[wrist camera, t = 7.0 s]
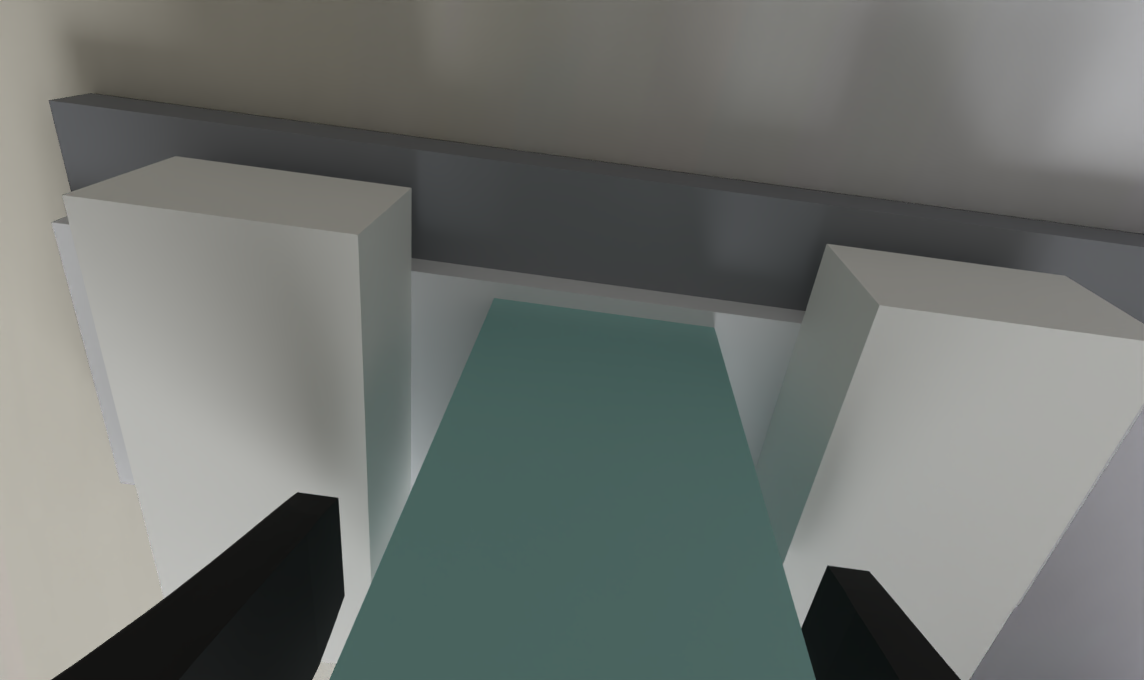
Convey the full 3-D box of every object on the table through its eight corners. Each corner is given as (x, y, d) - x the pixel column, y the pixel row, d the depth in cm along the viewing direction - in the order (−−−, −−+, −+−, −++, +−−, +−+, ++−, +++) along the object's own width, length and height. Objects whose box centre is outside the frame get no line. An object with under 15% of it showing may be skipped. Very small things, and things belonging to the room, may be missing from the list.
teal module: (714, 327, 12) (857, 827, 5) (655, 566, 14) (689, 1108, 7) (494, 297, 12) (300, 749, 5) (477, 542, 14) (341, 1057, 7)
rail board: (1160, 236, 12) (1394, 337, 8) (950, 608, 17) (1042, 777, 13) (90, 93, 12) (-138, 131, 8) (178, 502, 17) (55, 640, 13)
